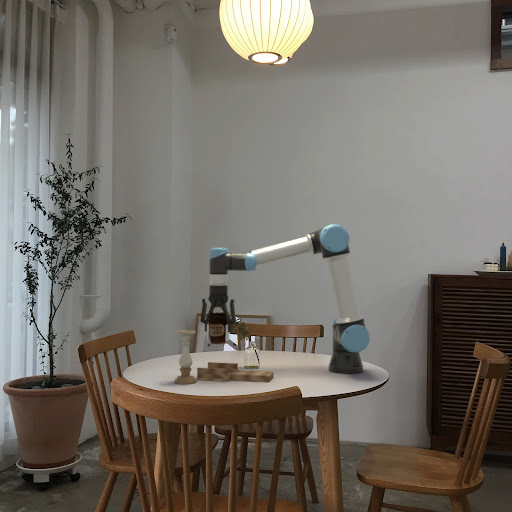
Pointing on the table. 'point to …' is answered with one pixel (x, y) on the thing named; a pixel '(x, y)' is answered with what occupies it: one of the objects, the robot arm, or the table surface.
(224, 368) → the wooden stepped block
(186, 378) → the candle holder
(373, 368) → the table surface
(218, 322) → the coffee cup
